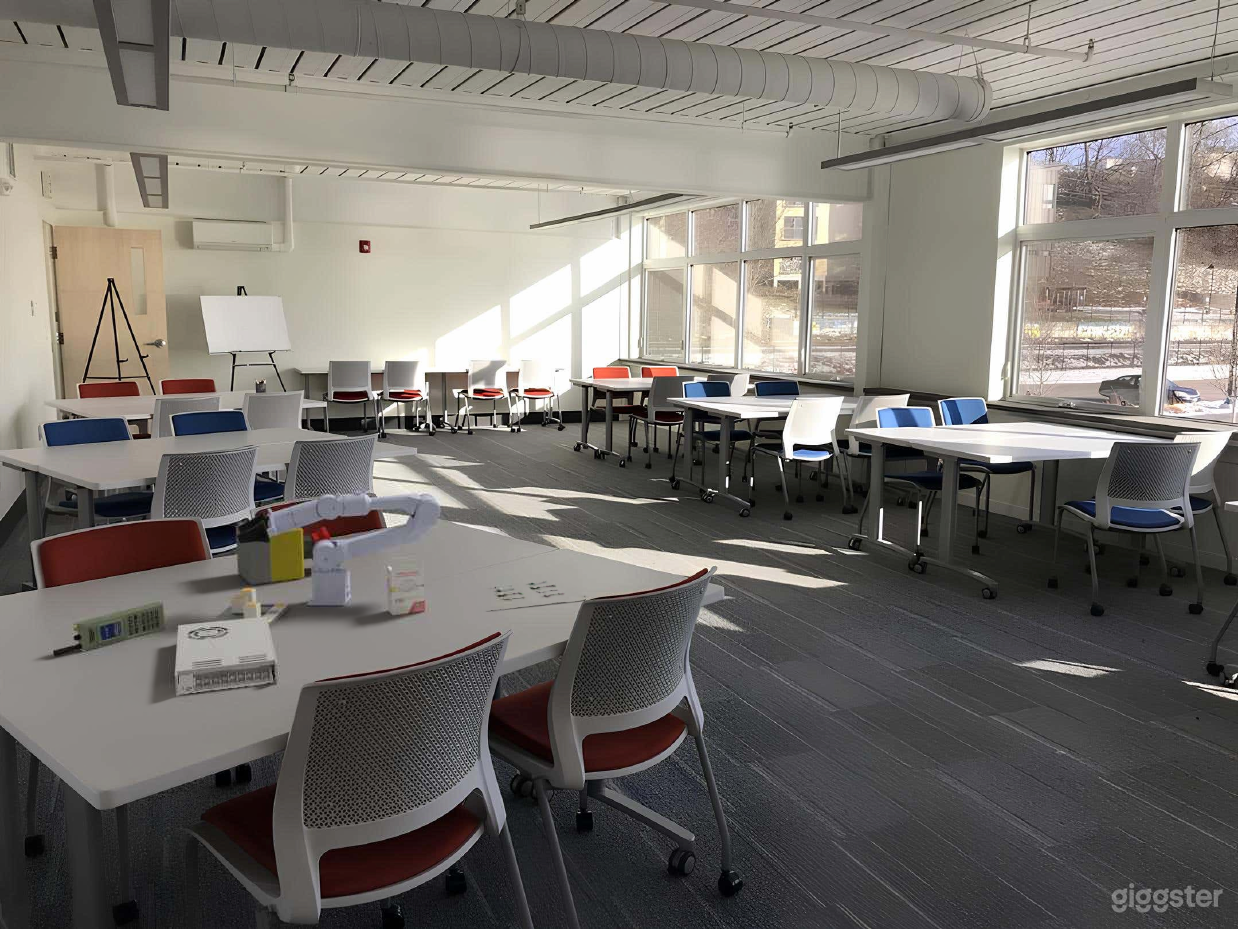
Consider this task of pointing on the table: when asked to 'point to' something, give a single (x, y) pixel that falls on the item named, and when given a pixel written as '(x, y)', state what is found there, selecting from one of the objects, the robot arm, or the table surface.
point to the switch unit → (267, 610)
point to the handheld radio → (116, 627)
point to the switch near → (252, 610)
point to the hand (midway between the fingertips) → (238, 534)
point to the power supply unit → (225, 653)
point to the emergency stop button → (277, 556)
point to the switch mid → (238, 603)
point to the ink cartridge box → (406, 585)
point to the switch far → (249, 594)
